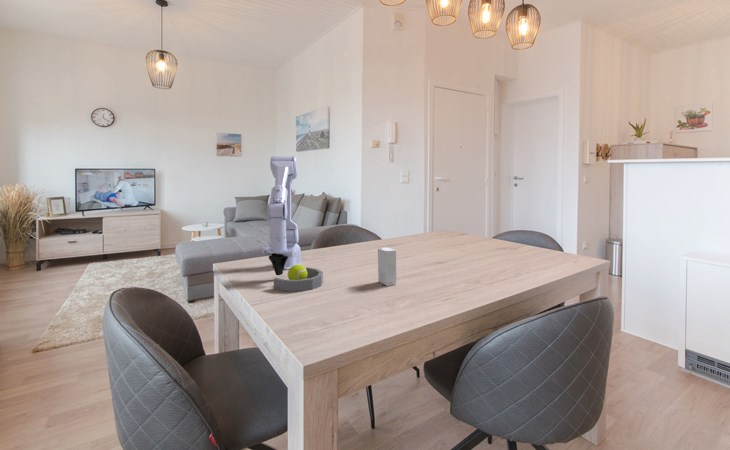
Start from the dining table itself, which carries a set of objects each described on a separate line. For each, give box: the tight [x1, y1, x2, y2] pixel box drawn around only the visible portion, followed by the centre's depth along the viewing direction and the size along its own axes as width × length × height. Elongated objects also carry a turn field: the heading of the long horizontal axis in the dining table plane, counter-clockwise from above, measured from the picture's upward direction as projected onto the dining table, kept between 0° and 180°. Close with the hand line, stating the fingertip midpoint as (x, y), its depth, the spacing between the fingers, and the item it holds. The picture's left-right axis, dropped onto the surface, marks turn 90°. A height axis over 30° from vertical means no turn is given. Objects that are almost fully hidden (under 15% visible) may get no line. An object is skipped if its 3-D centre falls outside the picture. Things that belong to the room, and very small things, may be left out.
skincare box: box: [377, 246, 397, 287], centre depth 129 cm, size 6×4×12 cm
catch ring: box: [273, 266, 324, 293], centre depth 127 cm, size 17×11×4 cm, turn 148°
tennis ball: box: [287, 264, 308, 280], centre depth 128 cm, size 7×7×7 cm
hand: (279, 274), depth 133 cm, fingers closed
